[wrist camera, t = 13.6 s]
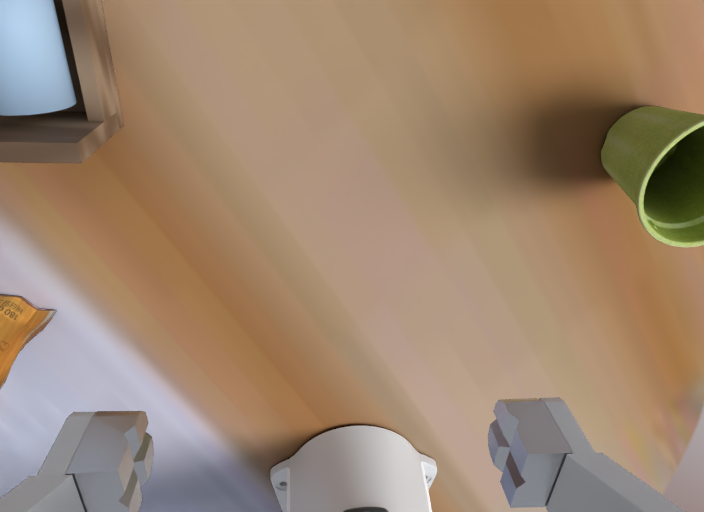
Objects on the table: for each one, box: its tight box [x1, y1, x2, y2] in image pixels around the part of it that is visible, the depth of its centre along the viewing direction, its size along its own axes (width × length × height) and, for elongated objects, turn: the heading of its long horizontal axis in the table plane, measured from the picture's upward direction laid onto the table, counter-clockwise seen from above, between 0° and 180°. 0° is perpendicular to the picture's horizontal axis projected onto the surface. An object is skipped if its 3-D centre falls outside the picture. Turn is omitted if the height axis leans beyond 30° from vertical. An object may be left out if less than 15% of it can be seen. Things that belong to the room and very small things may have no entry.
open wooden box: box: [0, 0, 124, 163], centre depth 29 cm, size 14×9×8 cm, turn 177°
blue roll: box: [0, 0, 76, 116], centre depth 29 cm, size 9×5×5 cm, turn 178°
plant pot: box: [601, 106, 704, 247], centre depth 37 cm, size 9×9×9 cm
